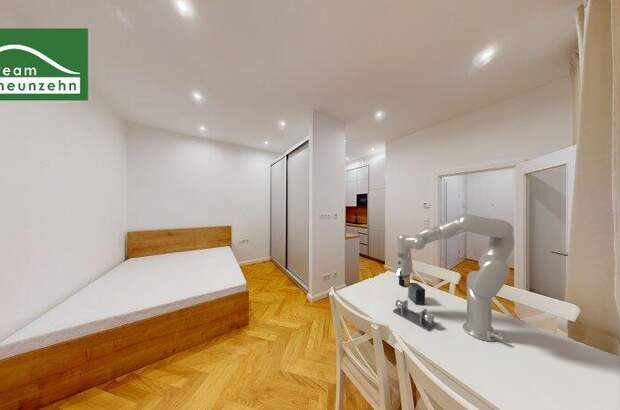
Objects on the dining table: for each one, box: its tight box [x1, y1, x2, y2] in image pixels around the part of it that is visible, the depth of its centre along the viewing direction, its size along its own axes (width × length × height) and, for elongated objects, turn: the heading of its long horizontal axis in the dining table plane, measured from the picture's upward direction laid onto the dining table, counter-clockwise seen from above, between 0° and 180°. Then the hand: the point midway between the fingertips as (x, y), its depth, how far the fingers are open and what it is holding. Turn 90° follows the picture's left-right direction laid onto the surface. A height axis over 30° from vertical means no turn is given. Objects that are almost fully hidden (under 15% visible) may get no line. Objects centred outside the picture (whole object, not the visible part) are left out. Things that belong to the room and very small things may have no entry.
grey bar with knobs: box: [392, 299, 437, 332], centre depth 109 cm, size 20×9×7 cm, turn 33°
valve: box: [399, 273, 410, 289], centre depth 115 cm, size 5×5×7 cm
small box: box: [407, 282, 426, 306], centre depth 128 cm, size 11×6×10 cm, turn 179°
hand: (404, 284), depth 115 cm, fingers closed on valve, 5 cm apart
